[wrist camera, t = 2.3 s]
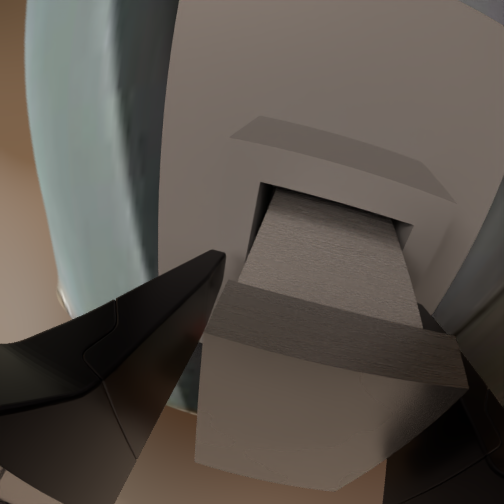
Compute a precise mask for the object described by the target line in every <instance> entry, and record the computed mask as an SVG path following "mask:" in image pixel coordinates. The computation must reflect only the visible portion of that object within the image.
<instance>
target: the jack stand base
mask: <svg viewBox="0 0 504 504" xmlns="http://www.w3.org/2000/svg"><path fill="white" fill-rule="evenodd" d="M503 175H504V26H503V25H501V24H500V23H498V22H496V21H495V20H493V19H491V18H490V17H488V16H486V15H484V14H483V13H481V12H479V11H477V10H475V9H473V8H471V7H470V6H468V5H466V4H464V3H462V2H460V1H458V0H179V6H178V11H177V17H176V23H175V29H174V36H173V42H172V49H171V56H170V64H169V72H168V80H167V89H166V99H165V109H164V120H163V133H162V147H161V164H160V185H159V221H158V269H159V276H160V275H162V274H164V273H166V272H168V271H170V270H171V269H173V268H175V267H177V266H179V265H181V264H183V263H185V262H187V261H189V260H191V259H193V258H195V257H197V256H199V255H201V254H203V253H205V252H207V251H209V250H211V249H214V250H218V251H221V252H225V253H226V264H225V271H224V277H223V282H222V285H221V288H220V290H219V293H218V296H217V299H216V301H215V304H214V307H213V309H212V312H211V315H210V318H211V316H212V313H213V311H214V309H215V307H216V305H217V303H218V300H219V298H220V296H221V294H222V292H223V290H224V287H225V285H226V283H227V281H228V280H232V281H235V282H238V279H239V277H240V274H241V272H242V270H243V267H244V265H245V263H246V260H247V258H248V255H249V253H250V251H251V248H252V246H253V244H254V241H255V239H256V236H257V234H258V232H259V229H260V227H261V225H262V222H263V220H264V217H265V215H266V213H267V210H268V208H269V206H270V203H271V201H272V198H273V196H274V194H275V191H276V189H277V187H278V186H280V187H284V188H288V189H292V190H295V191H299V192H303V193H307V194H311V195H314V196H318V197H322V198H325V199H329V200H333V201H336V202H340V203H343V204H347V205H350V206H354V207H357V208H360V209H364V210H367V211H370V212H374V213H377V214H380V215H384V216H387V217H390V218H391V221H392V224H393V226H394V229H395V232H396V235H397V238H398V241H399V244H400V247H401V250H402V253H403V257H404V260H405V263H406V266H407V270H408V273H409V276H410V280H411V283H412V287H413V291H414V294H415V298H416V302H417V303H420V304H422V305H423V307H424V308H425V309H426V310H427V311H428V312H429V314H430V315H432V314H433V312H434V311H435V309H436V307H437V306H438V304H439V303H440V301H441V300H442V298H443V296H444V295H445V293H446V291H447V290H448V288H449V286H450V285H451V283H452V281H453V279H454V278H455V276H456V274H457V273H458V271H459V269H460V267H461V265H462V264H463V262H464V260H465V258H466V256H467V254H468V252H469V250H470V249H471V247H472V245H473V243H474V241H475V239H476V237H477V235H478V233H479V231H480V229H481V226H482V224H483V222H484V220H485V218H486V216H487V214H488V211H489V209H490V207H491V205H492V202H493V200H494V198H495V195H496V193H497V190H498V188H499V186H500V183H501V181H502V178H503ZM210 318H209V320H210ZM209 320H208V322H209ZM207 324H208V323H207ZM206 327H207V325H206ZM205 329H206V328H205ZM204 331H205V330H204ZM203 336H204V332H203V334H202V337H201V338H200V340H199V342H201V343H203Z"/></svg>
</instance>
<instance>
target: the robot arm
mask: <svg viewBox="0 0 504 504" xmlns="http://www.w3.org/2000/svg"><path fill="white" fill-rule="evenodd" d="M225 264H226V253H225V252H221V251H218V250H214V249H211V250H209V251H207V252H205V253H203V254H201V255H199V256H197V257H195V258H193V259H191V260H189V261H187V262H185V263H183V264H181V265H179V266H177V267H175V268H173V269H171V270H170V271H168V272H166V273H164V274H162V275H160V276H158V277H156V278H154V279H152V280H150V281H148V282H146V283H144V284H142V285H140V286H139V287H137V288H135V289H133V290H131V291H129V292H127V293H125V294H123V295H121V296H119V297H118V298H116V301H115V300H112V301H110V302H108V303H106V304H104V305H102V306H100V307H98V308H96V309H94V310H92V311H90V312H88V313H86V314H84V315H82V316H79V317H77V318H75V319H72V320H70V321H68V322H66V323H63V324H61V325H58V326H56V327H54V328H51V329H49V330H46V331H44V332H42V333H39V334H36V335H34V336H32V337H30V338H27V339H24V340H21V341H18V342H14V343H8V344H0V504H114V503H115V501H116V499H117V497H118V495H119V494H120V492H121V490H122V488H123V486H124V484H125V482H126V480H127V478H128V476H129V474H130V472H131V470H132V468H133V467H134V465H135V463H136V459H138V457H139V455H140V453H141V451H142V449H143V447H144V445H145V443H146V441H147V439H148V438H149V436H150V434H151V432H152V430H153V428H154V426H155V424H156V422H157V420H158V418H159V417H160V415H161V413H162V411H163V409H164V407H165V405H166V403H167V401H168V399H169V397H170V396H171V394H172V392H173V390H174V388H175V386H176V384H177V382H178V380H179V378H180V376H181V375H182V373H183V371H184V369H185V367H186V365H187V363H188V361H189V359H190V357H191V356H192V354H193V352H194V350H195V348H196V346H197V344H198V342H199V340H200V338H201V337H202V334H203V332H204V330H205V328H206V325H207V323H208V320H209V318H210V315H211V312H212V309H213V307H214V304H215V301H216V299H217V296H218V293H219V290H220V288H221V285H222V282H223V277H224V271H225ZM417 305H418V309H419V313H420V317H421V322H422V326H423V329H426V330H430V331H435V332H439V333H444V334H446V333H445V331H444V330H443V329H442V328H441V327H440V325H439V324H438V323H437V322H436V321H435V319H434V318H433V317H432V316H431V315H430V314H429V312H428V311H427V310H426V309H425V308H424V307H423V305H422V304H420V303H417ZM459 351H460V350H459ZM460 354H461V358H462V362H463V366H464V369H465V373H466V377H467V382H468V386H469V390H468V391H467V392H466V393H465V394H464V395H462V396H461V397H460V398H459V399H458V400H457V401H456V402H455V403H454V404H453V405H452V406H451V407H450V408H449V409H448V410H447V411H445V412H444V413H443V414H442V415H441V416H440V417H439V418H438V419H436V420H435V421H434V422H433V423H432V424H431V425H429V426H428V427H427V428H426V429H425V430H423V431H422V432H421V433H420V434H419V435H417V436H416V437H415V438H413V439H412V440H411V441H410V442H408V443H407V444H406V445H404V446H403V447H402V448H400V449H399V450H398V451H396V452H395V453H394V454H392V455H391V456H390V457H388V458H387V465H386V477H385V486H384V495H383V504H504V409H503V407H502V406H501V405H500V403H499V402H498V400H497V399H496V398H495V396H494V395H493V394H492V392H491V391H490V389H488V387H487V385H486V384H485V383H484V381H483V380H482V379H481V377H480V376H479V375H478V373H477V372H476V371H475V369H474V368H473V367H472V365H471V364H470V363H469V361H468V360H467V359H466V358H465V356H464V355H463V354H462V352H461V351H460Z"/></svg>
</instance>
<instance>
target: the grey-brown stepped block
mask: <svg viewBox="0 0 504 504" xmlns="http://www.w3.org/2000/svg"><path fill="white" fill-rule="evenodd" d="M468 390H469V386H468V382H467V377H466V373H465V369H464V366H463V362H462V358H461V354H460V351H459V347H458V344H457V340H456V337H455V336H453V335H448V334H444V333H439V332H435V331H430V330H426V329H423V326H422V322H421V317H420V313H419V309H418V305H417V302H416V298H415V294H414V291H413V287H412V283H411V280H410V276H409V273H408V270H407V266H406V263H405V260H404V257H403V253H402V250H401V247H400V244H399V241H398V238H397V235H396V232H395V229H394V226H393V224H392V221H391V218H390V217H387V216H384V215H380V214H377V213H374V212H370V211H367V210H364V209H360V208H357V207H354V206H350V205H347V204H343V203H340V202H336V201H333V200H329V199H325V198H322V197H318V196H314V195H311V194H307V193H303V192H299V191H295V190H292V189H288V188H284V187H280V186H278V187H277V189H276V191H275V194H274V196H273V198H272V201H271V203H270V206H269V208H268V210H267V213H266V215H265V217H264V220H263V222H262V225H261V227H260V229H259V232H258V234H257V236H256V239H255V241H254V244H253V246H252V248H251V251H250V253H249V255H248V258H247V260H246V263H245V265H244V267H243V270H242V272H241V274H240V277H239V279H238V282H235V281H232V280H228V281H227V283H226V285H225V287H224V290H223V292H222V294H221V296H220V298H219V300H218V303H217V305H216V307H215V309H214V311H213V313H212V316H211V318H210V320H209V322H208V324H207V327H206V329H205V331H204V336H203V347H202V359H201V371H200V384H199V398H198V413H197V430H196V446H195V462H196V463H199V464H203V465H206V466H209V467H212V468H216V469H219V470H223V471H227V472H230V473H234V474H238V475H242V476H247V477H251V478H255V479H259V480H264V481H269V482H274V483H279V484H284V485H290V486H296V487H303V488H309V489H317V490H325V491H336V490H338V489H340V488H342V487H343V486H345V485H347V484H348V483H350V482H352V481H353V480H355V479H357V478H358V477H360V476H361V475H363V474H364V473H366V472H368V471H369V470H371V469H372V468H374V467H375V466H376V465H378V464H380V463H381V462H382V461H384V460H385V459H387V458H388V457H390V456H391V455H392V454H394V453H395V452H396V451H398V450H399V449H400V448H402V447H403V446H404V445H406V444H407V443H408V442H410V441H411V440H412V439H413V438H415V437H416V436H417V435H419V434H420V433H421V432H422V431H423V430H425V429H426V428H427V427H428V426H429V425H431V424H432V423H433V422H434V421H435V420H436V419H438V418H439V417H440V416H441V415H442V414H443V413H444V412H445V411H447V410H448V409H449V408H450V407H451V406H452V405H453V404H454V403H455V402H456V401H457V400H458V399H459V398H460V397H461V396H462V395H464V394H465V393H466V392H467V391H468Z"/></svg>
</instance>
